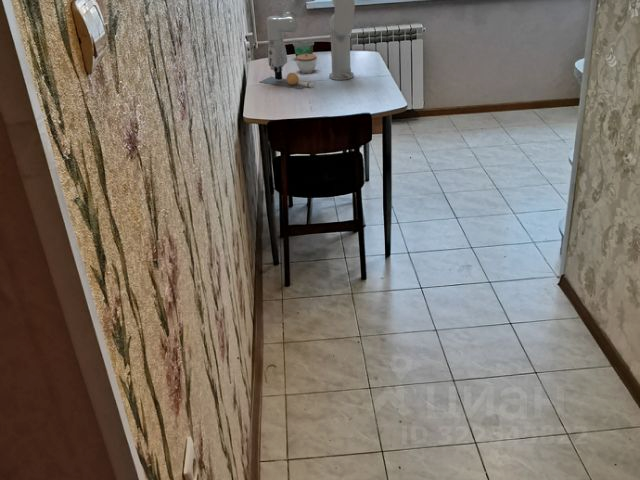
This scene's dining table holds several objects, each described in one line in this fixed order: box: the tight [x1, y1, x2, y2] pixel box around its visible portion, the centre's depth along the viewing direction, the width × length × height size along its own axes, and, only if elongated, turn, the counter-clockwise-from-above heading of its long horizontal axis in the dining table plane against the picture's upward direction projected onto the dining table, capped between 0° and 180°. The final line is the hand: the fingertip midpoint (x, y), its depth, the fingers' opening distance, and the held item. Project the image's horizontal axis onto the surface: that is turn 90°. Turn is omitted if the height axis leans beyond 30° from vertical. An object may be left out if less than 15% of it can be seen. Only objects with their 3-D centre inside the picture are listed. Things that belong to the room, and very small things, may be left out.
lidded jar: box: [295, 53, 318, 74], centre depth 349 cm, size 11×11×9 cm
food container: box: [292, 40, 315, 58], centre depth 368 cm, size 12×6×10 cm, turn 73°
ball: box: [285, 72, 299, 85], centre depth 329 cm, size 6×6×6 cm
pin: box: [297, 80, 314, 88], centre depth 328 cm, size 2×2×8 cm
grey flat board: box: [259, 76, 306, 90], centre depth 334 cm, size 26×10×1 cm, turn 56°
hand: (278, 78), depth 336 cm, fingers closed
